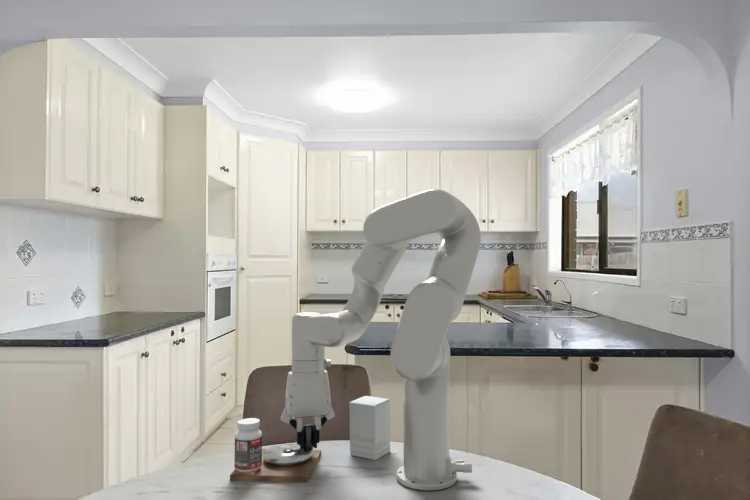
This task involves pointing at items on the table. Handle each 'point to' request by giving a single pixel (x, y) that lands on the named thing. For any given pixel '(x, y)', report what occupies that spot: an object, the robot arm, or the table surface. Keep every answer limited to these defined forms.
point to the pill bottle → (248, 445)
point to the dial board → (280, 471)
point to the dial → (291, 450)
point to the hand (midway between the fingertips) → (308, 446)
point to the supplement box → (369, 427)
